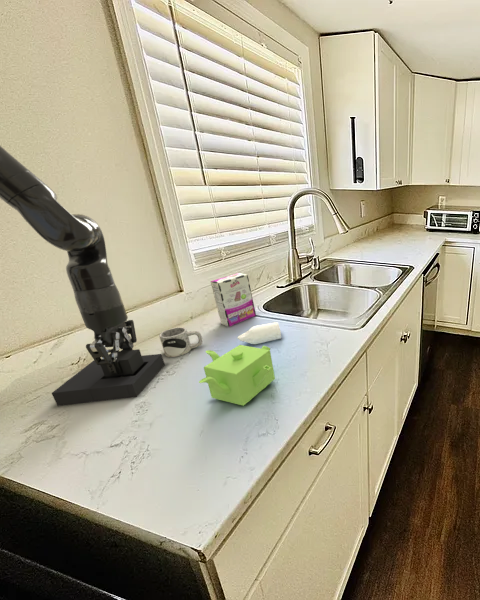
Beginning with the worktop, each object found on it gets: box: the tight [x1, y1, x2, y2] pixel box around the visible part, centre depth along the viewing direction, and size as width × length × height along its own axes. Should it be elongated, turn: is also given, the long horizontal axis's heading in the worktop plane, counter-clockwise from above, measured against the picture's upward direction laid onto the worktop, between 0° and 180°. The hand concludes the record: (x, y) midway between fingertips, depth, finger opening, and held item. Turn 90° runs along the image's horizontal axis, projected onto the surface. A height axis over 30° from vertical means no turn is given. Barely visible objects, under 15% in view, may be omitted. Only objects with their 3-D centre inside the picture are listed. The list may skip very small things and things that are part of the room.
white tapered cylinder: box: [236, 321, 282, 345], centre depth 101 cm, size 6×12×6 cm, turn 121°
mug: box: [158, 326, 204, 358], centre depth 96 cm, size 10×7×7 cm, turn 114°
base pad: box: [51, 353, 166, 407], centre depth 81 cm, size 16×14×4 cm
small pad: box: [101, 348, 144, 377], centre depth 80 cm, size 6×5×4 cm
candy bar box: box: [210, 272, 257, 328], centre depth 114 cm, size 11×5×16 cm, turn 150°
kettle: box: [198, 344, 276, 407], centre depth 76 cm, size 15×14×11 cm
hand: (124, 368), depth 80 cm, fingers closed on small pad, 5 cm apart
